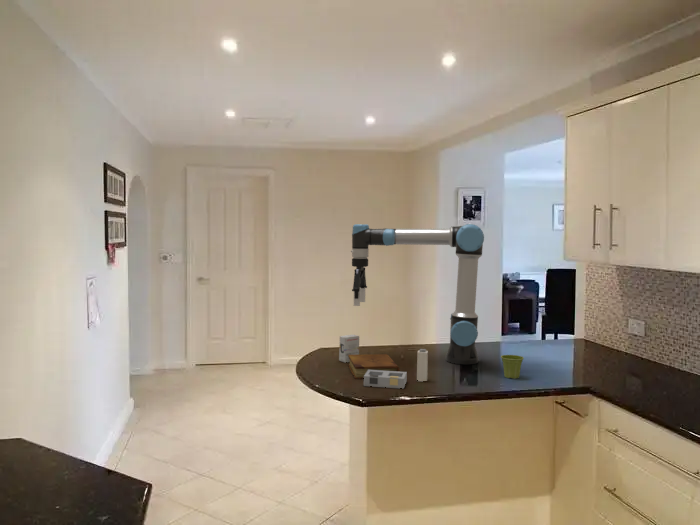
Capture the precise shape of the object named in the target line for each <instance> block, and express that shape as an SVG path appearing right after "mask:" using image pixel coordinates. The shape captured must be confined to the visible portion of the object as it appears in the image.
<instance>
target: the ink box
mask: <svg viewBox="0 0 700 525" xmlns="http://www.w3.org/2000/svg"><path fill="white" fill-rule="evenodd" d="M338 347H339V351H338V353H339V354H338V361H340V362H342V363H344V364H346V362H347V363H350V359H349V357H348V355H360V335H358V334H357V335H356V334H346V335H340V336H339V346H338Z"/></svg>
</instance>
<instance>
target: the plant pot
mask: <svg viewBox="0 0 700 525" xmlns="http://www.w3.org/2000/svg"><path fill="white" fill-rule="evenodd" d="M500 358H501V361H502V367H503V375H504V378H506V379H509V378H511V379H515V380H516V379H519V378H520V374H521V368H522V363H523V360H524V359H525V358H524V357H523V356H521V355H514V354H502V355H501V356H500Z"/></svg>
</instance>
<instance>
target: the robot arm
mask: <svg viewBox="0 0 700 525" xmlns="http://www.w3.org/2000/svg"><path fill="white" fill-rule="evenodd" d="M351 232H352V233H351V238H352V240H351V243H352V244H351V248H352V249H351V250H350V252H351V253H352V254H351V256H352V258H351V267H355V269H354V274H353V275H354V277H353V283H352V284H353V285H352V289H351V291H352V292H353V306H354V307H359V306H361V303H366V289H368V286H367V278H366V267H368V266H369V254H370V253H369V250H370V249H369V246H386V247H387V246H394V245H413V246H414V245H419V246H422V245H424V246H428V245H429V246H430V245H431V246H434V245H435V246H436V245H437V246H450V247H451V248H455V255H456V256H457V257H458V262H457V263H458V265H457V279H456V280H457V281H456V295H455V298H456V299H455V311H453V312H452V313H451V314H450V318H449V319H450V327H449V328H450V332H449V333H450V334H449V335H450V337H449V346H448V349H447V352H446V354H445V361H446V362H447V361H448V362H447V363H450V362H451V364H454V363H455V364H457V365H474V364H478V363H479V355H478V352H477V349H476V340H477V339H478V335H479V332H478V323H479V316H478V314H477V313H476V303H477V302H476V300H477V286H478V285H477V282H478V270H479V269H478V268H479V259H480V258H481V257H482V256H483V249H484V248H483V244H484V241H485V235H484V231H483V230H482V228H481V227H480V226H478V225H476V224H473V223H472V224H471V223H469V224H468V223H467V224H463V225H460V226H459V225H458V226H451V227H449V228H385V227H384V228H370V226H369V224H368V223H367V224H361V223H360V224H358V223H357V224H353V226H352V231H351Z"/></svg>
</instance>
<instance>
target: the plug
mask: <svg viewBox="0 0 700 525" xmlns="http://www.w3.org/2000/svg"><path fill="white" fill-rule="evenodd" d="M428 354H429V350H427V349H426V348H419V350H417V355H416V357H417V358H416V360H417V362H416V381H417V380H418V381H417V382H423V381H428V367H429V364H428V361H429V360H428V359H429V358H428V357H429V355H428Z"/></svg>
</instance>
